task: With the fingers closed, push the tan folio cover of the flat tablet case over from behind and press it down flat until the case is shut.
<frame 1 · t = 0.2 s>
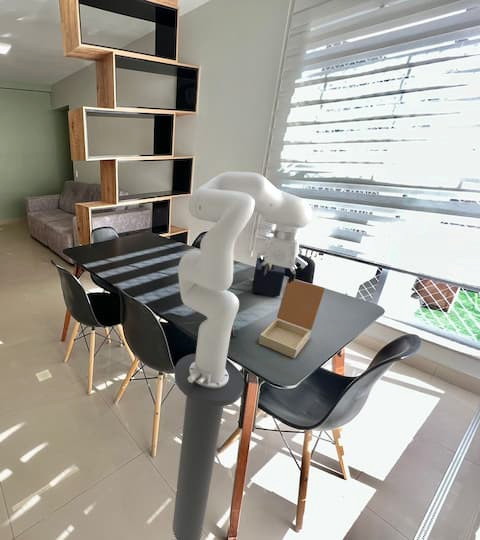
hand: (276, 278, 111), 23 cm above the table, tool pointing down, fingers open, 9 cm apart
tablet case: (283, 341, 111), on the table
chocolate cake: (225, 331, 118), on the table
cover: (299, 303, 113), point 13 cm above the table, hinge at 100.0°
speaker: (265, 288, 155), on the table
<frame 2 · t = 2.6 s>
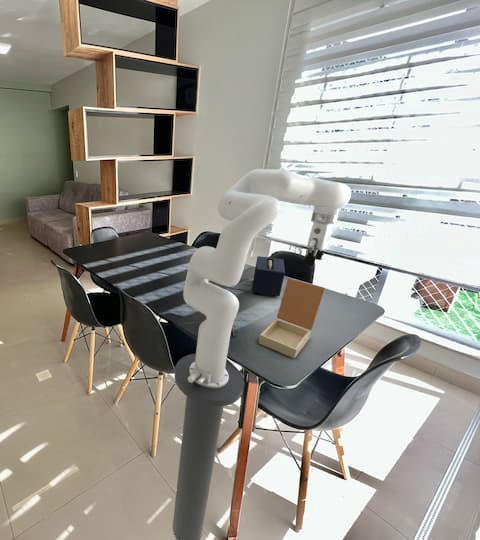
hand: (312, 262, 111), 28 cm above the table, tool pointing down, fingers open, 9 cm apart
nothing on the table moved.
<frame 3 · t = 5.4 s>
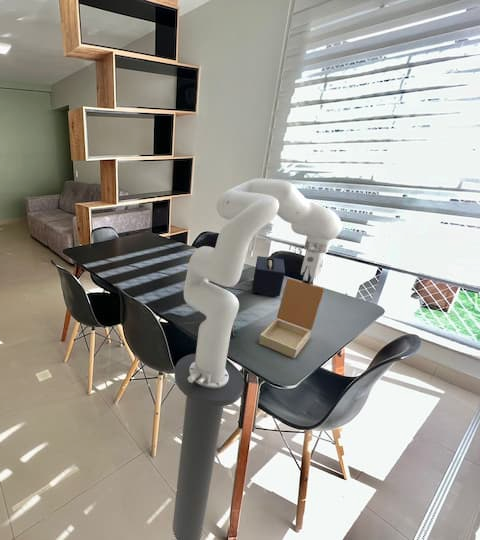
hand: (305, 290, 113), 17 cm above the table, tool pointing down, fingers closed
cover: (299, 303, 112), point 13 cm above the table, hinge at 97.4°, touching gripper
everything else where it was.
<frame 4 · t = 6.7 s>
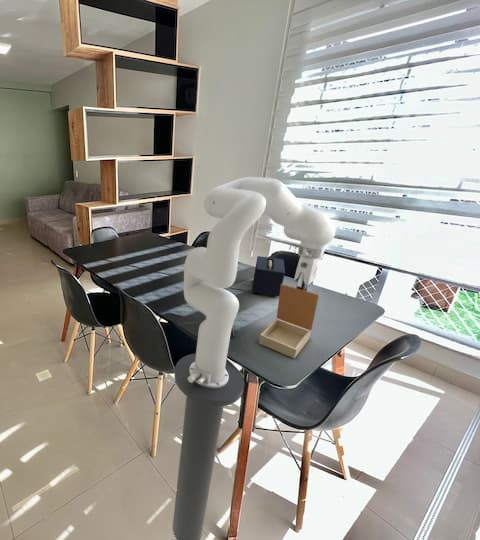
hand: (299, 297, 109), 17 cm above the table, tool pointing down, fingers closed
cover: (296, 307, 110), point 13 cm above the table, hinge at 75.0°, touching gripper
everything else where it was.
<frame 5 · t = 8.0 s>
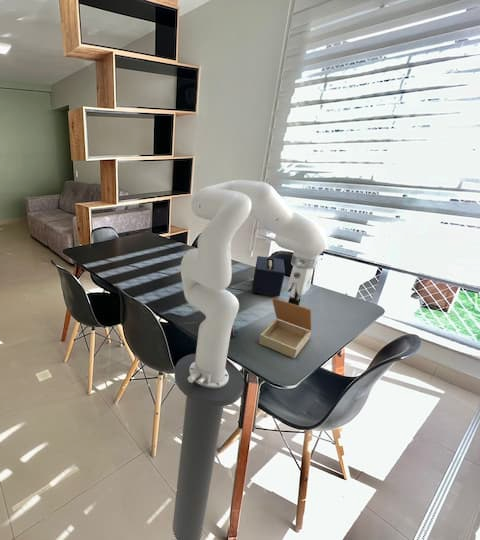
hand: (292, 307, 106), 14 cm above the table, tool pointing down, fingers closed
cover: (292, 314, 109), point 11 cm above the table, hinge at 49.8°, touching gripper
everything else where it was.
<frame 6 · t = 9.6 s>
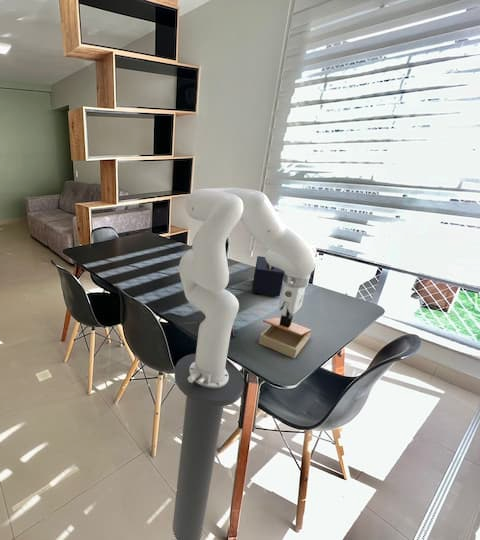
hand: (284, 325, 105), 9 cm above the table, tool pointing down, fingers closed
cover: (287, 325, 109), point 7 cm above the table, hinge at 19.1°, touching gripper
everything else where it was.
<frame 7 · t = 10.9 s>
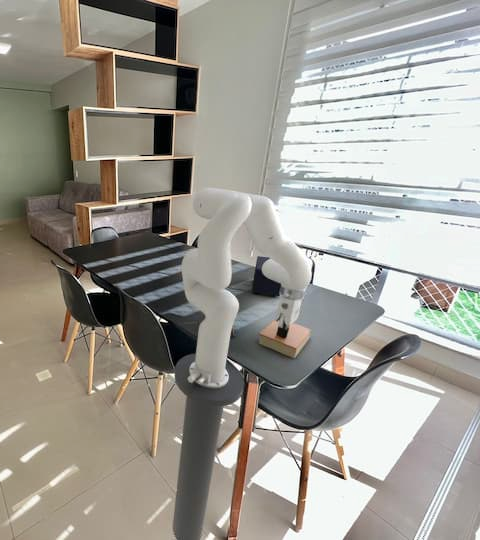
hand: (281, 336, 106), 5 cm above the table, tool pointing down, fingers closed
cover: (285, 332, 109), point 4 cm above the table, hinge at 1.1°, touching gripper
everything else where it was.
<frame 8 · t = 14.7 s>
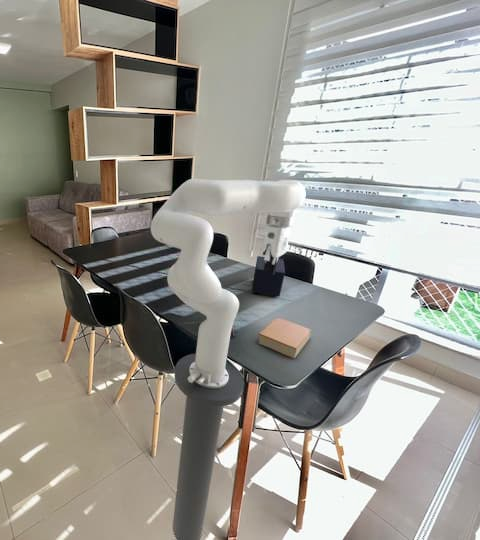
hand: (268, 273, 99), 29 cm above the table, tool pointing down, fingers closed
cover: (285, 332, 109), point 4 cm above the table, hinge at 1.1°
everything else where it was.
at the end: cover at +1° (first picture: +100°) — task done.
